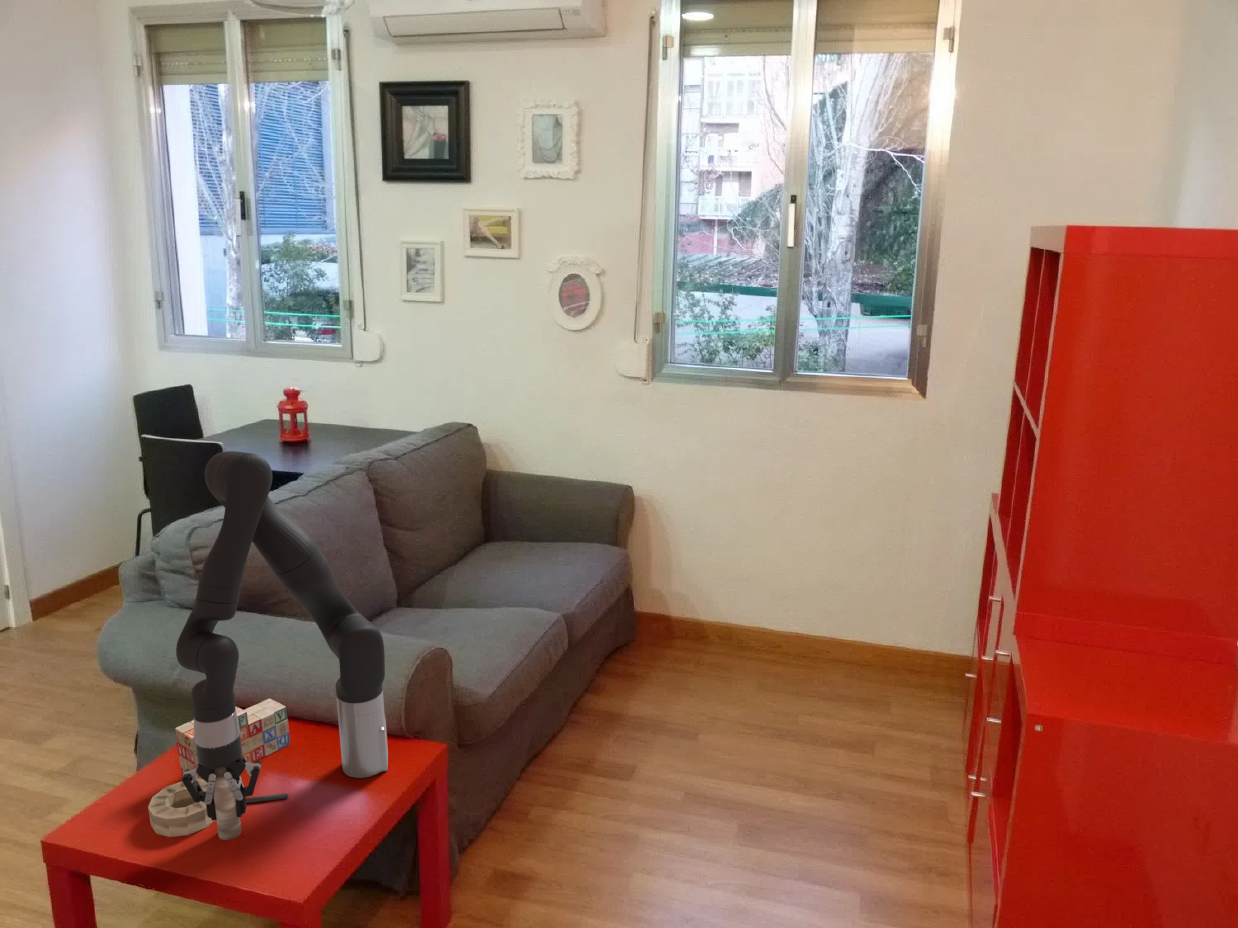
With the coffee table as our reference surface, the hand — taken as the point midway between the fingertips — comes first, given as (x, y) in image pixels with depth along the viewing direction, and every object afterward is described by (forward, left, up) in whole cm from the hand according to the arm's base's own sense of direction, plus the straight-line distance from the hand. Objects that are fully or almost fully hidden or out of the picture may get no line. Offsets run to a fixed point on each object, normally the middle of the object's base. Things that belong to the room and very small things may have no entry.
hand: (227, 815), depth 174 cm
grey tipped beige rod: (0, 0, -4) cm, 4 cm away
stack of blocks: (+2, -24, -4) cm, 25 cm away
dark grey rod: (-5, -9, -4) cm, 11 cm away
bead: (+9, -7, -4) cm, 12 cm away
